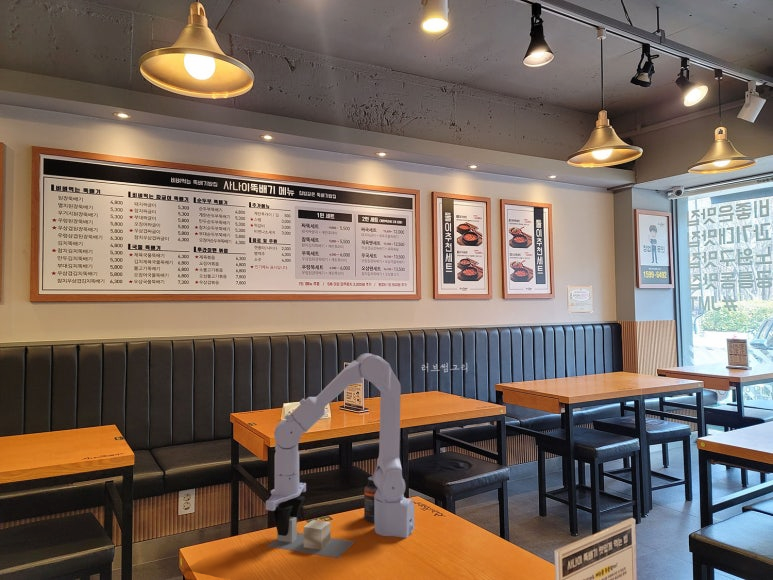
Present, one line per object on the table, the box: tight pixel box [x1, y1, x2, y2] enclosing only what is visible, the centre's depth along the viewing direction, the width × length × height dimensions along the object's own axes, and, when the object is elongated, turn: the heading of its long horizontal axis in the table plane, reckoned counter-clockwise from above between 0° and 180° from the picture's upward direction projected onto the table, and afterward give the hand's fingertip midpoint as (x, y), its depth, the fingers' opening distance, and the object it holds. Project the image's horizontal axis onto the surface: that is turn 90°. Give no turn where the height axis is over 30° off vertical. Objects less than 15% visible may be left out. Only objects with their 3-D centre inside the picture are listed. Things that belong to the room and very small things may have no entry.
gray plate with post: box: [266, 517, 356, 559], centre depth 121 cm, size 18×9×6 cm, turn 69°
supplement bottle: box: [363, 475, 377, 524], centre depth 136 cm, size 6×6×11 cm
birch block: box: [303, 519, 332, 550], centre depth 120 cm, size 4×4×4 cm
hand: (286, 531), depth 123 cm, fingers open, 3 cm apart
